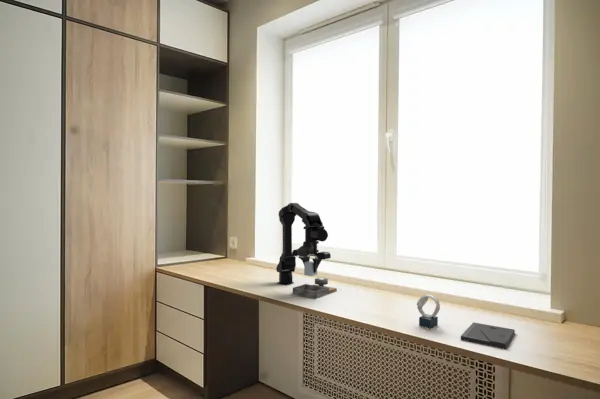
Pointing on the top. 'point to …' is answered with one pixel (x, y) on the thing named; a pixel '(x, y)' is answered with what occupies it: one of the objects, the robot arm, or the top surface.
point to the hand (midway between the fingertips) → (310, 272)
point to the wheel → (321, 281)
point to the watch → (426, 319)
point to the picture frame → (488, 335)
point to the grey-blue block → (309, 268)
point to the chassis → (313, 290)
